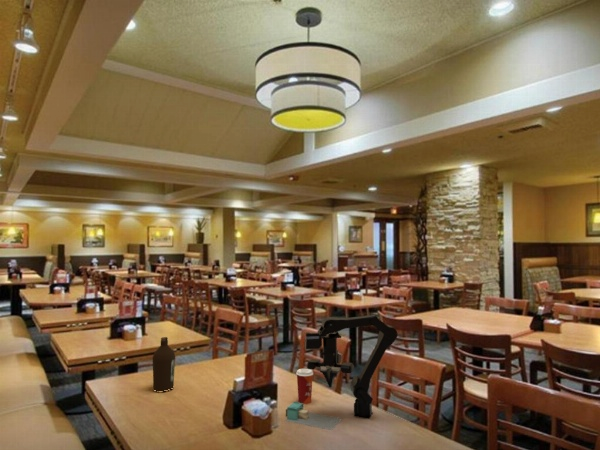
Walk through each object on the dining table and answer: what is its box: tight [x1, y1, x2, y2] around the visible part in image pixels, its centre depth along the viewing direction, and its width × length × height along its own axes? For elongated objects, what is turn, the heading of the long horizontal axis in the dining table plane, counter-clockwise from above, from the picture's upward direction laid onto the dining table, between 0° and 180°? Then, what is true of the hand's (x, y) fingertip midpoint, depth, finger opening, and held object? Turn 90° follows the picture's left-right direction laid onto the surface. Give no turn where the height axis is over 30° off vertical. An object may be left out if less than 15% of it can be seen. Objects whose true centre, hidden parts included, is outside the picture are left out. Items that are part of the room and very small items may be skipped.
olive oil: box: [152, 336, 176, 391], centre depth 206 cm, size 11×11×25 cm
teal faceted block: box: [286, 401, 304, 420], centre depth 171 cm, size 4×7×4 cm, turn 156°
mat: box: [284, 412, 343, 431], centre depth 168 cm, size 20×12×1 cm, turn 66°
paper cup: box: [295, 368, 314, 405], centre depth 188 cm, size 8×8×14 cm
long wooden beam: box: [285, 408, 310, 420], centre depth 171 cm, size 9×3×3 cm, turn 67°
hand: (330, 387), depth 173 cm, fingers closed
